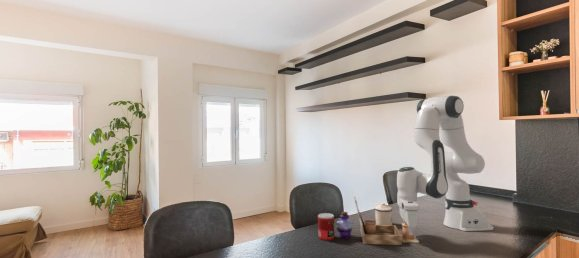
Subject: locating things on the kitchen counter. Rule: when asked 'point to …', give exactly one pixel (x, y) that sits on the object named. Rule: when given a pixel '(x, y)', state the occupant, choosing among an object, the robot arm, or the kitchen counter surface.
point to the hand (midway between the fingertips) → (408, 230)
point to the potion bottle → (344, 226)
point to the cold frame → (380, 233)
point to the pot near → (406, 231)
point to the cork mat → (410, 240)
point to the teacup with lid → (383, 214)
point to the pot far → (370, 226)
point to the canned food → (326, 226)
